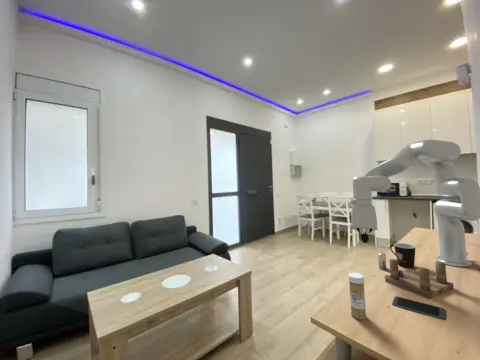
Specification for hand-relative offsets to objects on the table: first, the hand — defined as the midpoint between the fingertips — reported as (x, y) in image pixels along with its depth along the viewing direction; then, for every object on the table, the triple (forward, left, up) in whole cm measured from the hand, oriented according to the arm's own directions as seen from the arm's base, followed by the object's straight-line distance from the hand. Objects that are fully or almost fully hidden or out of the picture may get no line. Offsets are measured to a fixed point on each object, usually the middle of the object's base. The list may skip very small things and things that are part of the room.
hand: (364, 242), depth 102 cm
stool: (-8, +17, -15) cm, 24 cm away
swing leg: (-6, +7, -13) cm, 16 cm away
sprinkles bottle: (+30, +20, -15) cm, 39 cm away
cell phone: (+9, +26, -16) cm, 31 cm away
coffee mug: (-25, +2, -15) cm, 29 cm away
